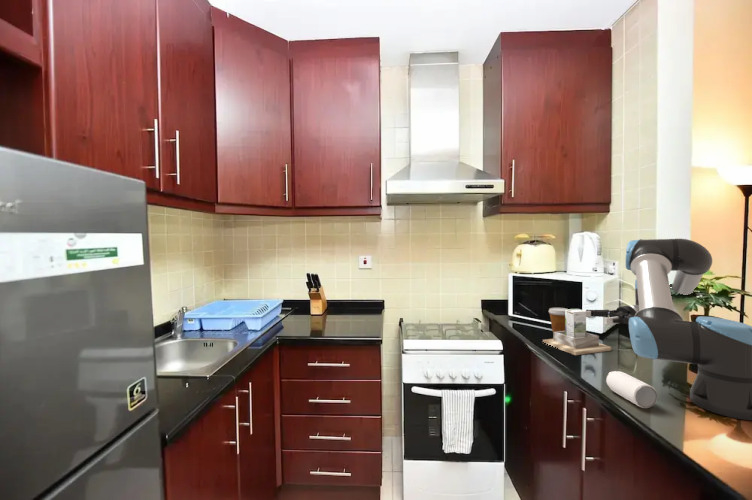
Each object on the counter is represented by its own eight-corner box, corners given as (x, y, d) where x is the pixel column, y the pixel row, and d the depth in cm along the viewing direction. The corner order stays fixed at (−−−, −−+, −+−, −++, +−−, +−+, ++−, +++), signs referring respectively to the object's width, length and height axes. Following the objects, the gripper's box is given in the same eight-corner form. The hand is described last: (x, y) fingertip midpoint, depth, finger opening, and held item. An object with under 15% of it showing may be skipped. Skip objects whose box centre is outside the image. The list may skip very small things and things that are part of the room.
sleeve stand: (611, 350, 139) (611, 337, 139) (575, 355, 135) (575, 341, 135) (575, 339, 156) (575, 327, 156) (542, 343, 152) (542, 331, 152)
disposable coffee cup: (550, 335, 164) (550, 310, 164) (547, 330, 173) (546, 307, 173) (573, 336, 161) (572, 311, 161) (568, 331, 170) (567, 307, 170)
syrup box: (577, 340, 149) (576, 308, 148) (587, 344, 143) (586, 310, 143) (565, 341, 148) (564, 308, 148) (574, 345, 142) (573, 311, 142)
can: (633, 386, 91) (603, 370, 103) (635, 410, 91) (605, 391, 103) (657, 383, 91) (624, 368, 103) (659, 407, 91) (626, 389, 103)
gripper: (658, 328, 141) (618, 333, 136) (604, 316, 165) (569, 320, 160) (658, 310, 141) (618, 314, 136) (604, 301, 165) (568, 304, 160)
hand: (591, 318), depth 148 cm, fingers open, 13 cm apart
